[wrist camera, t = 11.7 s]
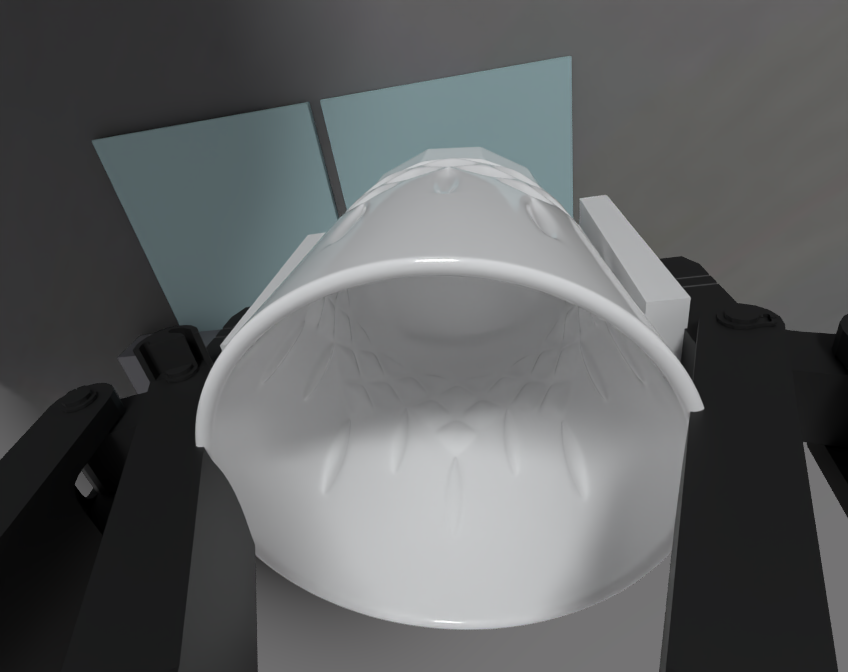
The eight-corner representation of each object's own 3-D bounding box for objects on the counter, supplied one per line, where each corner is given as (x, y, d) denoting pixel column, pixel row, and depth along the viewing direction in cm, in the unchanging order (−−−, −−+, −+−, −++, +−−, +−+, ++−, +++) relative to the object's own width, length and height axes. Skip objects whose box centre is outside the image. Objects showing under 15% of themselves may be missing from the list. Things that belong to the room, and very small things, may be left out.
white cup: (632, 190, 15) (849, 402, 6) (509, 382, 19) (541, 670, 10) (385, 75, 14) (250, 146, 5) (309, 305, 18) (164, 556, 9)
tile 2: (321, 99, 19) (319, 100, 18) (569, 55, 17) (571, 56, 17) (373, 309, 23) (372, 312, 23) (572, 288, 22) (573, 291, 22)
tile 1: (96, 139, 20) (91, 140, 20) (309, 101, 19) (307, 102, 19) (186, 330, 25) (183, 333, 24) (363, 310, 23) (361, 314, 23)
